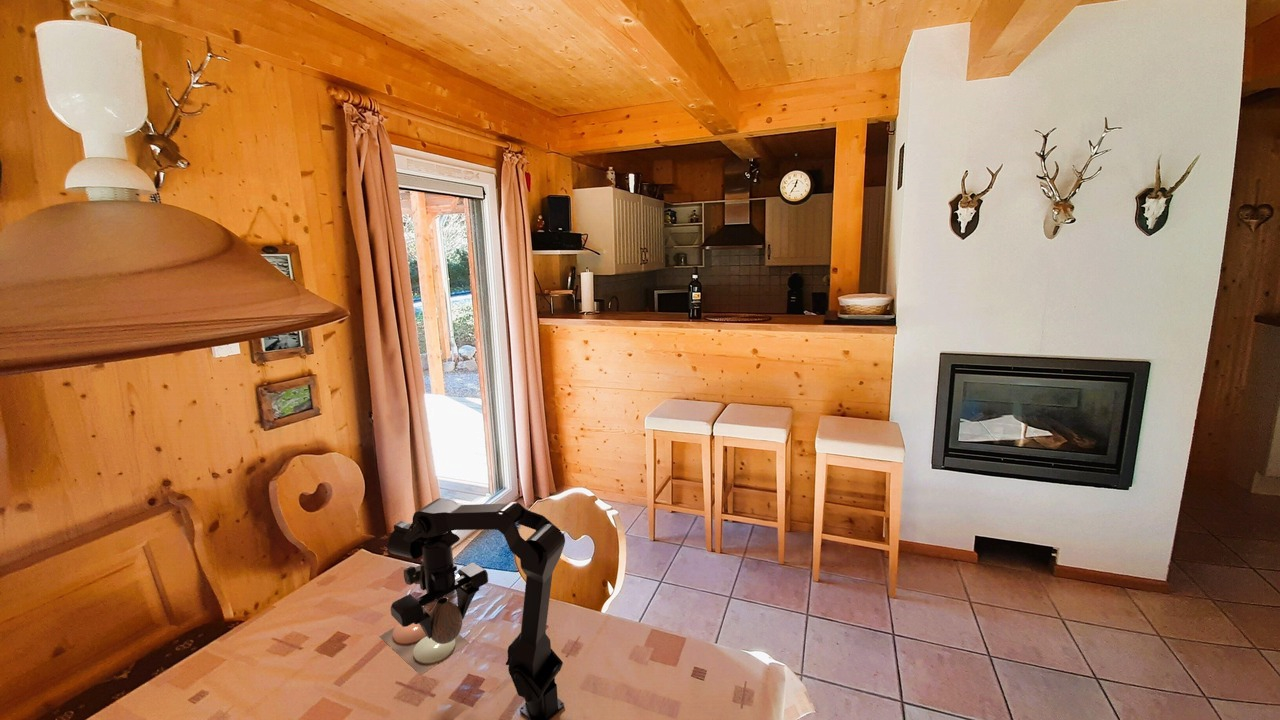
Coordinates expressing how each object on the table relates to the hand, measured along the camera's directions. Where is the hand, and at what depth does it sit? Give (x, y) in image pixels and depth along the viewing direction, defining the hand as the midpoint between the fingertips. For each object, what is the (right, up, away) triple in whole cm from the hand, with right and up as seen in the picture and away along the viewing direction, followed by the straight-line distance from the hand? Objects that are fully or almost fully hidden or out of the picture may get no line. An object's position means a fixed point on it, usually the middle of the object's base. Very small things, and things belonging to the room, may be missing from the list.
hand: (445, 627), depth 109 cm
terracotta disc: (-14, -9, +16) cm, 23 cm away
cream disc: (-6, -10, +10) cm, 15 cm away
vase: (0, -2, 0) cm, 2 cm away
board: (-10, -10, +13) cm, 19 cm away
